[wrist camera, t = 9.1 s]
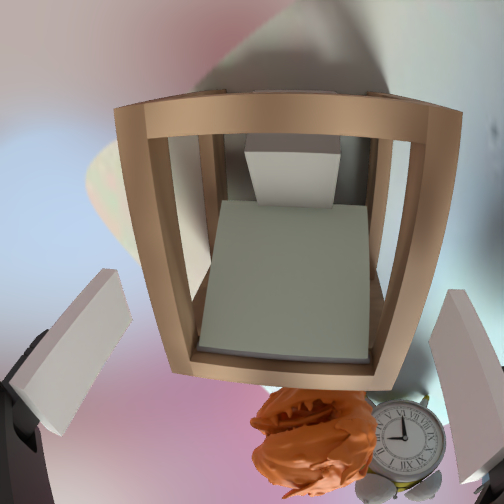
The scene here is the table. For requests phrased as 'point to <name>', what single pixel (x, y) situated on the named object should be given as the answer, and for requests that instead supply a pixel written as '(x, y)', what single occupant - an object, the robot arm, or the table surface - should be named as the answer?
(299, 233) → the hatch
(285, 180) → the grey block
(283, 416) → the orange sculpture
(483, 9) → the table surface
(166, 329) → the frame
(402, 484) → the alarm clock
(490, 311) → the table surface
